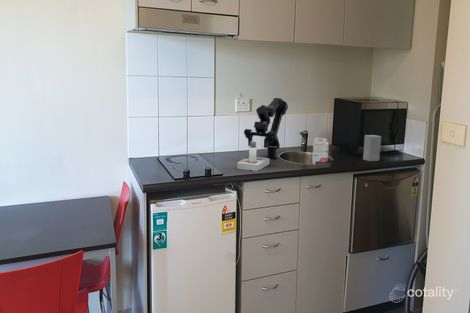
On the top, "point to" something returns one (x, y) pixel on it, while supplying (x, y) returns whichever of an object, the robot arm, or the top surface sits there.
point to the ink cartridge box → (320, 150)
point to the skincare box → (372, 148)
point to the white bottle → (252, 152)
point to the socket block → (259, 164)
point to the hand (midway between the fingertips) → (256, 146)
